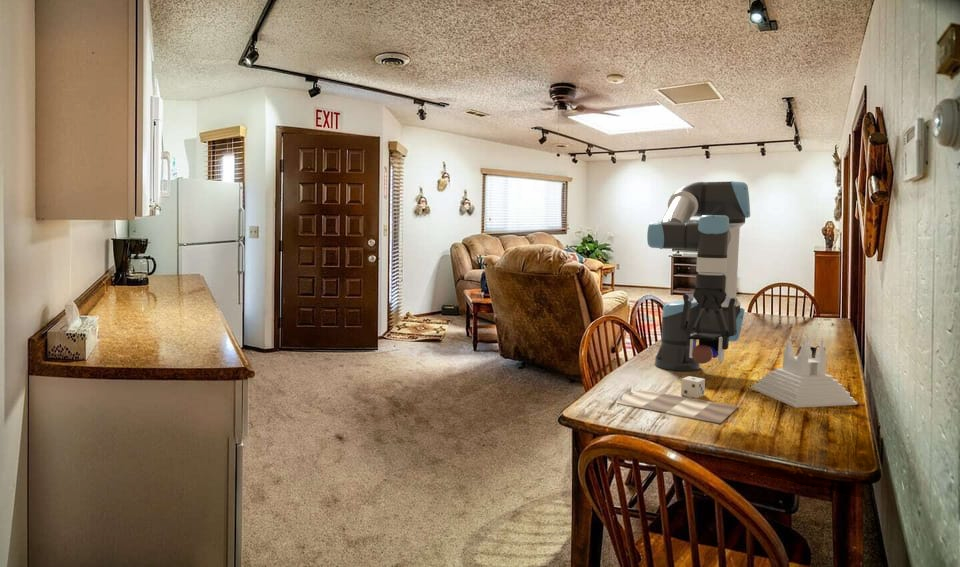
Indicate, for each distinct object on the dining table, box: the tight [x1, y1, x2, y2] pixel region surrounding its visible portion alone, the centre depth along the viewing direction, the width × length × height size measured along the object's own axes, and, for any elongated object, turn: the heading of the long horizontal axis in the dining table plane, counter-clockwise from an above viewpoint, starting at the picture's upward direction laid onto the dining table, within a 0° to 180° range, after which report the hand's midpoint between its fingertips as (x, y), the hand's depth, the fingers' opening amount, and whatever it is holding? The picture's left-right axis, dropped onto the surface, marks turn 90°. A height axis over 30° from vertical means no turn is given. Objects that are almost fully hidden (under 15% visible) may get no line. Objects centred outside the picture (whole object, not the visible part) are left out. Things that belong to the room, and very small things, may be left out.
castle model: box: [750, 334, 858, 409], centre depth 184 cm, size 20×20×18 cm
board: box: [616, 389, 739, 425], centre depth 172 cm, size 18×28×1 cm, turn 54°
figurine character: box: [689, 333, 722, 365], centre depth 166 cm, size 7×8×15 cm
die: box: [680, 375, 706, 399], centre depth 183 cm, size 5×5×5 cm
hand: (706, 358), depth 166 cm, fingers closed on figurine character, 7 cm apart
